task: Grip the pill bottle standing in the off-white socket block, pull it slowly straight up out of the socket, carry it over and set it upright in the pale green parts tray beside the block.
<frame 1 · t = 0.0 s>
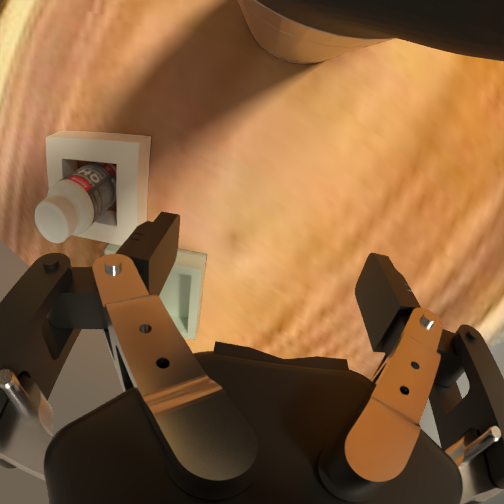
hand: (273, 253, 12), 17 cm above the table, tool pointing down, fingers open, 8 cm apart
pill bottle: (103, 181, 29), resting in socket block
parts tray: (158, 282, 36), on the table
socket block: (102, 181, 29), on the table
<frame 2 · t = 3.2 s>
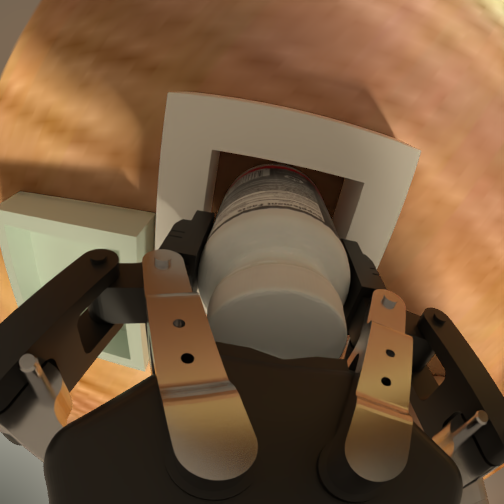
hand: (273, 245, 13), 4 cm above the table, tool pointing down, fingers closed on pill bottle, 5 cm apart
pill bottle: (273, 207, 17), resting in socket block, touching gripper
parts tray: (84, 271, 19), on the table
socket block: (273, 209, 16), on the table
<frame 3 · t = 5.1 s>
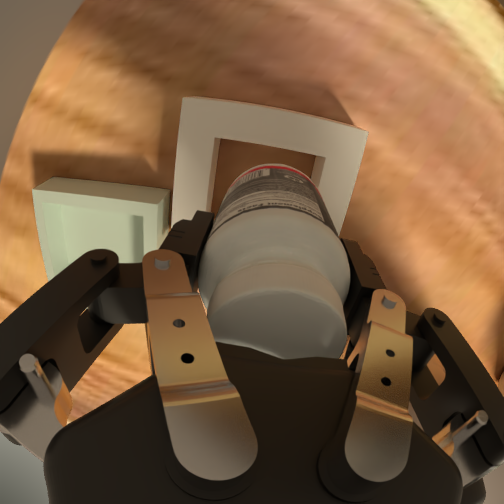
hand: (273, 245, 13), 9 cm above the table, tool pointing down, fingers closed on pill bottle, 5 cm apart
pill bottle: (273, 207, 17), point 5 cm above the table, touching gripper
parts tray: (108, 242, 24), on the table
socket block: (261, 183, 21), on the table
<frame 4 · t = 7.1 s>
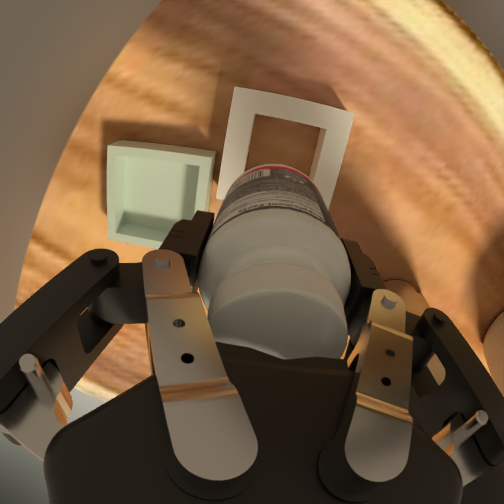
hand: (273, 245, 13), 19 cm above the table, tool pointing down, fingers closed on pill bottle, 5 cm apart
pill bottle: (273, 208, 17), point 15 cm above the table, touching gripper
parts tray: (161, 192, 33), on the table
socket block: (282, 148, 30), on the table
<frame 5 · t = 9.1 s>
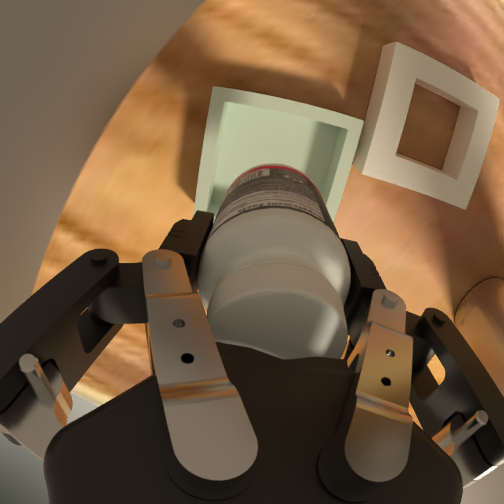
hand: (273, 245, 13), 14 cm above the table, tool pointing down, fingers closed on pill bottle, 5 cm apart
pill bottle: (273, 207, 17), point 9 cm above the table, touching gripper
parts tray: (273, 162, 25), on the table
socket block: (424, 125, 22), on the table
when the fingers open (6 cm above the table, at t = 10.9 s): pill bottle drops 1 cm, resting on parts tray.
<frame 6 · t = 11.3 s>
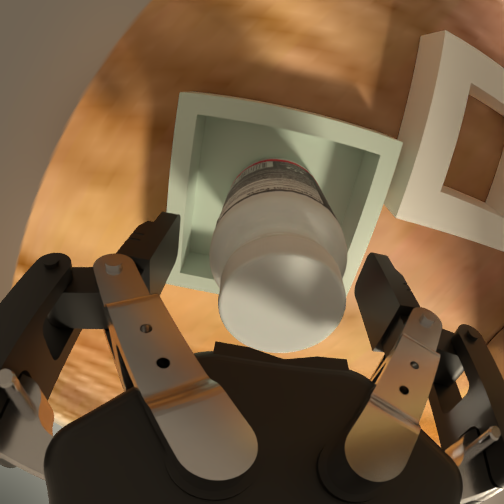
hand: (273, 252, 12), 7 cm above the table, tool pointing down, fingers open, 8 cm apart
pill bottle: (275, 199, 18), resting on parts tray
parts tray: (272, 197, 18), on the table
socket block: (469, 145, 15), on the table
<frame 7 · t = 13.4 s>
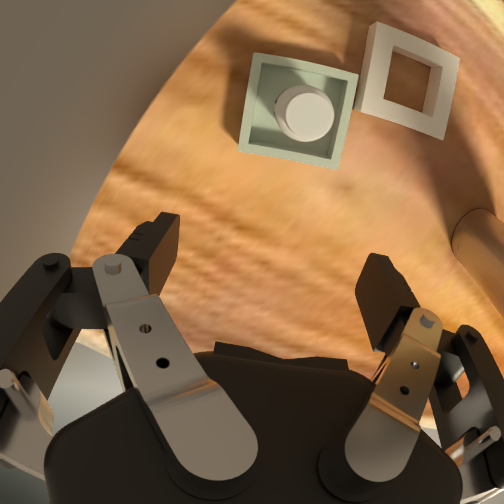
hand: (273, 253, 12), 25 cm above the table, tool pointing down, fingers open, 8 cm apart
pill bottle: (297, 109, 31), resting on parts tray
parts tray: (295, 109, 31), on the table
socket block: (404, 81, 28), on the table
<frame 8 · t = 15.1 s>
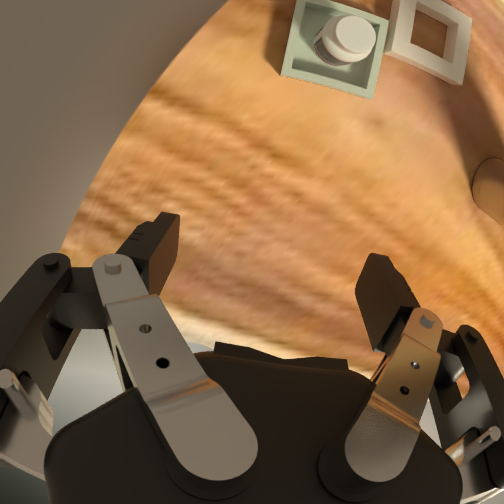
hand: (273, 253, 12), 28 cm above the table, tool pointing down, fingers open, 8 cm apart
pill bottle: (334, 46, 30), resting on parts tray
parts tray: (332, 47, 30), on the table
socket block: (425, 34, 27), on the table
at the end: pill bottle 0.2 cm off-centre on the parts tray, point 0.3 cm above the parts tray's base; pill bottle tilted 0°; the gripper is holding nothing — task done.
